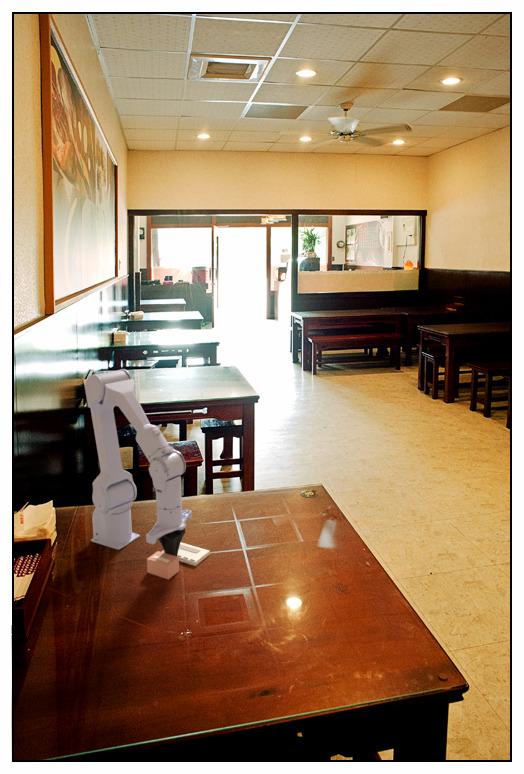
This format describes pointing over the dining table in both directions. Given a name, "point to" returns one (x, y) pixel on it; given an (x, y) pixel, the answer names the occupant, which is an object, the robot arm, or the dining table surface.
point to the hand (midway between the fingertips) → (171, 558)
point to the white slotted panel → (191, 554)
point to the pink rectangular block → (163, 565)
